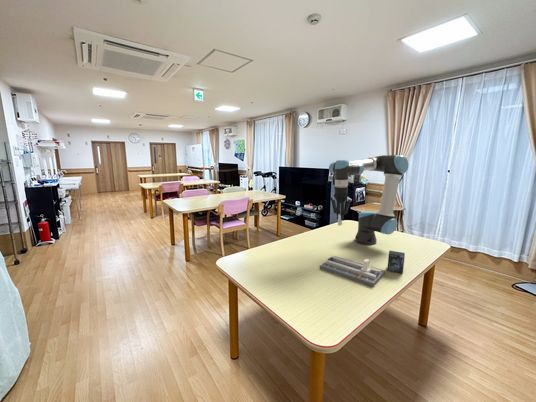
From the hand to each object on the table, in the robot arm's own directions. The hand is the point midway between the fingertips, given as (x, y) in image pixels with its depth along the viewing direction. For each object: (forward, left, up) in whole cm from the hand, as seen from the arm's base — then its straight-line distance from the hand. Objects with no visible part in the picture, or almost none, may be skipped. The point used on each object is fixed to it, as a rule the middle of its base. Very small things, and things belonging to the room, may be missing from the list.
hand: (340, 224), depth 145 cm
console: (+9, +13, -23) cm, 28 cm away
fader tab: (+9, +20, -21) cm, 30 cm away
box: (-8, +31, -23) cm, 39 cm away
